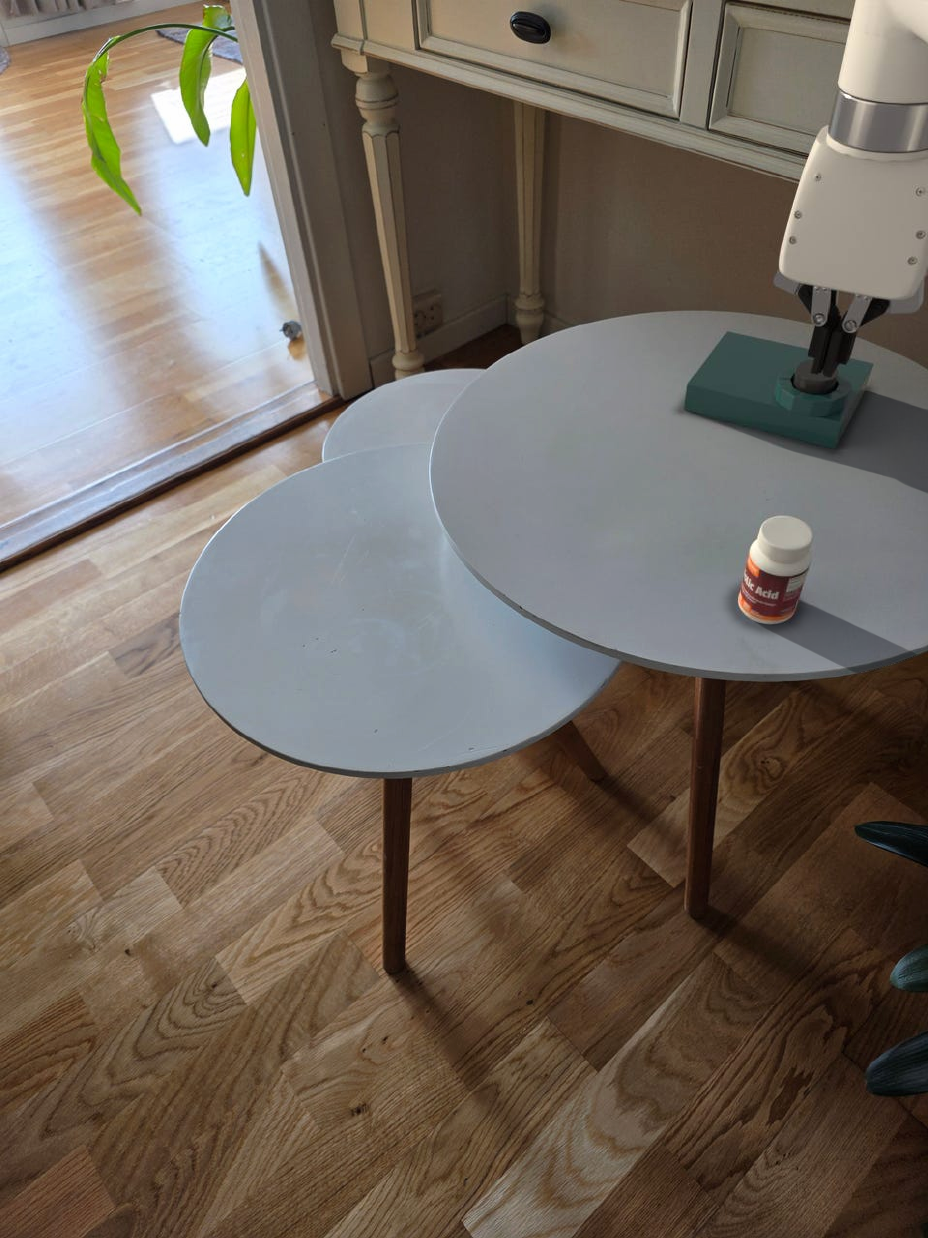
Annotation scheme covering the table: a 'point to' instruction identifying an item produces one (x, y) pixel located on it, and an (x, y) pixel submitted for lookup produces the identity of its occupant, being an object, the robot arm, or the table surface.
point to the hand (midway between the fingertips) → (826, 366)
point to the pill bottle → (776, 570)
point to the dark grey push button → (813, 380)
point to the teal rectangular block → (773, 390)
